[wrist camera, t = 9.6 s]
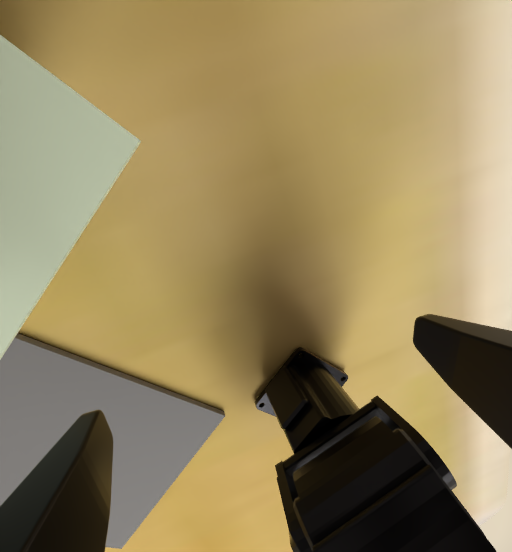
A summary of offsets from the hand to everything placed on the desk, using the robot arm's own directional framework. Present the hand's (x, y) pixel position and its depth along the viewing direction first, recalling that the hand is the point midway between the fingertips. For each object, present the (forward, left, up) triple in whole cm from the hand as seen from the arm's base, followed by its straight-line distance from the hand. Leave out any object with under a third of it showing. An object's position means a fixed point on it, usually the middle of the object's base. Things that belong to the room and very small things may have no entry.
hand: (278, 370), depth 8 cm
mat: (-1, +19, -13) cm, 23 cm away
